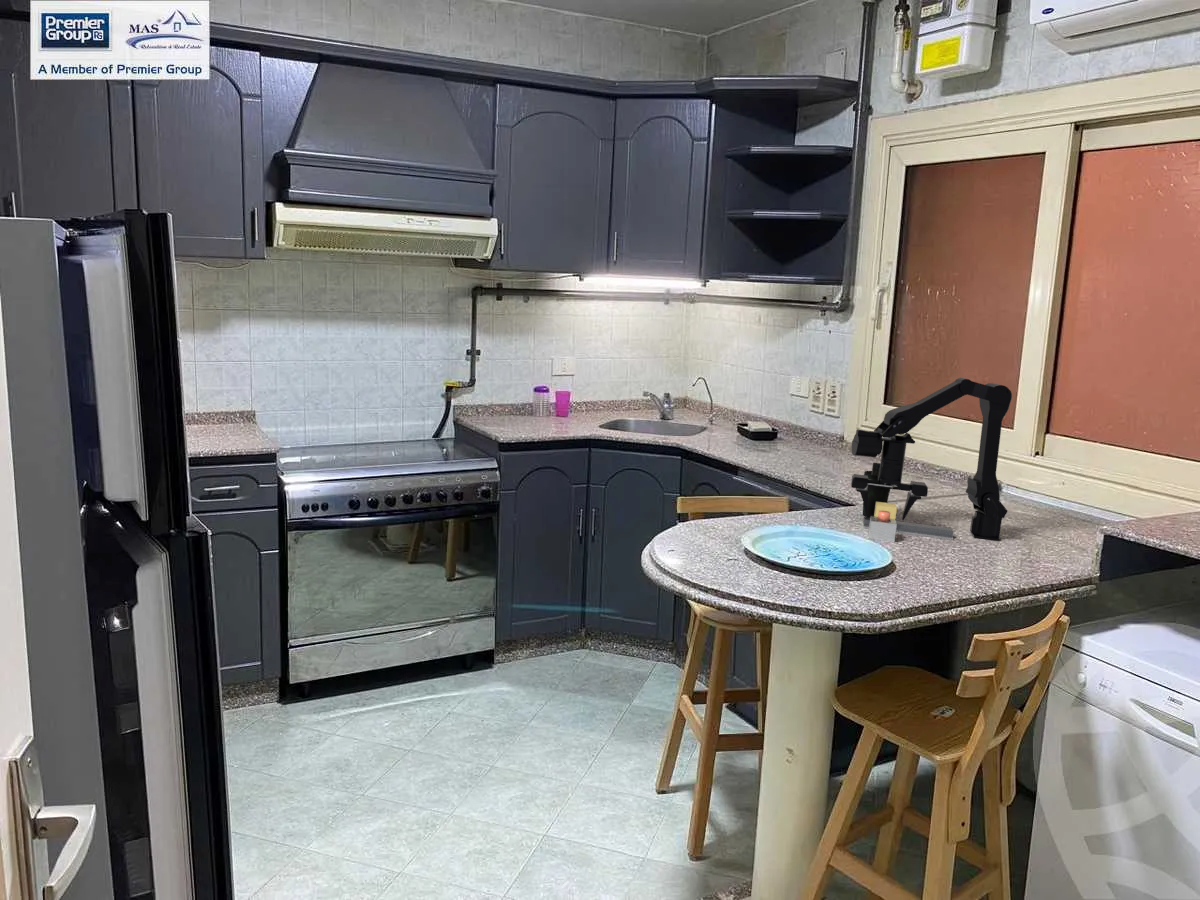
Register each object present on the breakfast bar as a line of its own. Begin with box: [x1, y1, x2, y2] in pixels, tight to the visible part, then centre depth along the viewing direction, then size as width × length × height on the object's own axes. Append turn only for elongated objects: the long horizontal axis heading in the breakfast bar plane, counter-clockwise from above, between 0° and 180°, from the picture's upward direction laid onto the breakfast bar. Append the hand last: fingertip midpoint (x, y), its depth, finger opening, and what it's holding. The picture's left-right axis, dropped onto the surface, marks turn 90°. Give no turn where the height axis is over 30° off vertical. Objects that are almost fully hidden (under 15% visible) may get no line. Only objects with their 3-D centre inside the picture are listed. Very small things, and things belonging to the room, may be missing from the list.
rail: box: [862, 516, 954, 541], centre depth 243 cm, size 22×6×2 cm, turn 76°
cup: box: [862, 470, 891, 518], centre depth 256 cm, size 8×8×12 cm
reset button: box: [878, 511, 890, 521], centre depth 233 cm, size 3×3×2 cm
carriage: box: [874, 502, 898, 520], centre depth 243 cm, size 5×5×5 cm
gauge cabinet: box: [868, 516, 897, 543], centre depth 233 cm, size 6×6×4 cm
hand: (884, 517), depth 244 cm, fingers open, 9 cm apart
